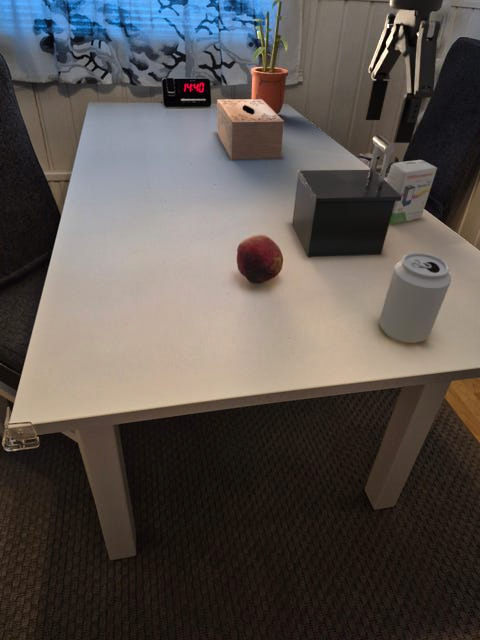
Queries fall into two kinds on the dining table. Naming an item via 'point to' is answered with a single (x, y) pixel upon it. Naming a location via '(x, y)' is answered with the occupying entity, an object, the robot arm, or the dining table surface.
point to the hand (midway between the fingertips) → (385, 130)
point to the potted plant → (269, 68)
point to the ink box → (410, 188)
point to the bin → (340, 225)
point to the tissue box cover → (249, 129)
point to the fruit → (259, 259)
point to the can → (415, 297)
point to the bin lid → (353, 181)
